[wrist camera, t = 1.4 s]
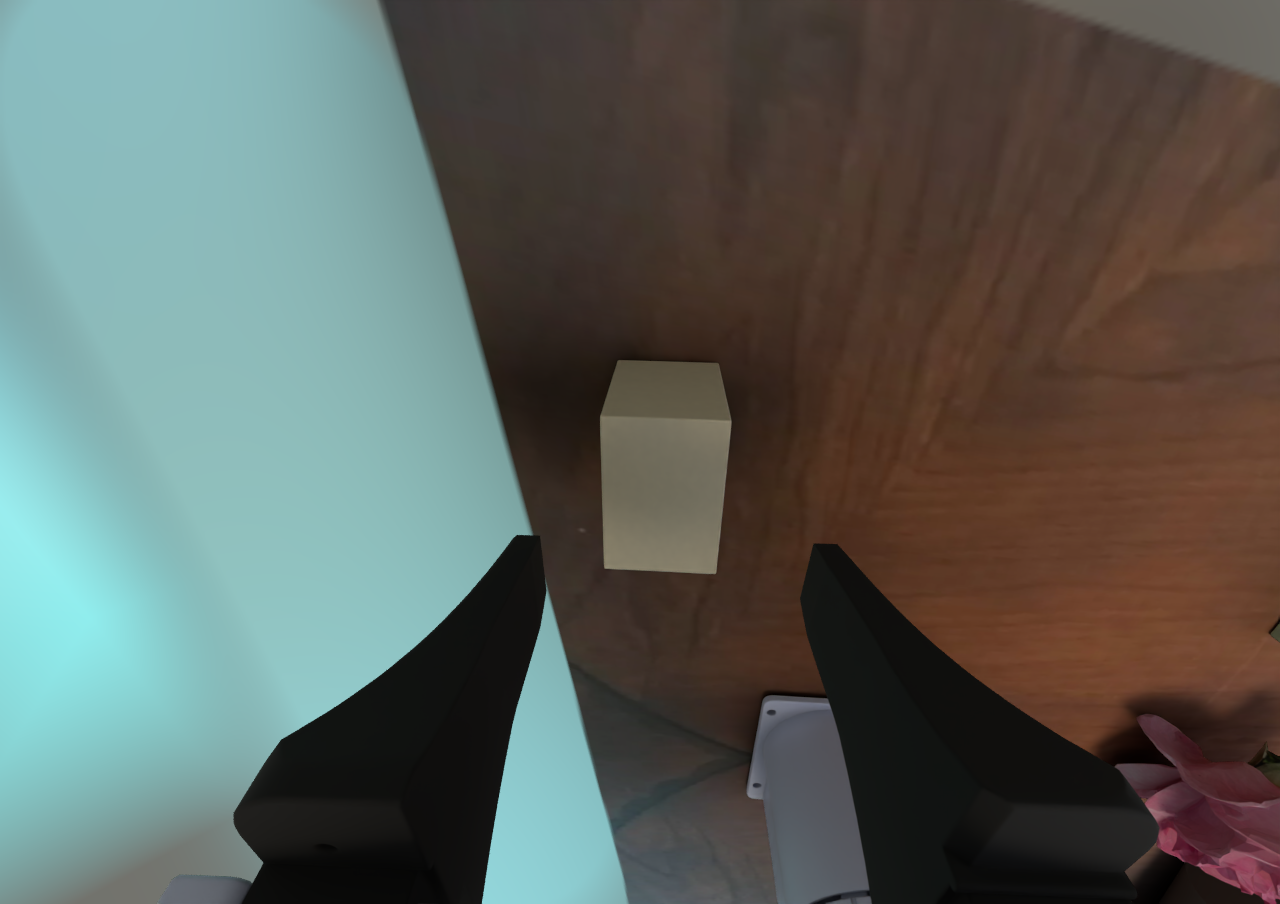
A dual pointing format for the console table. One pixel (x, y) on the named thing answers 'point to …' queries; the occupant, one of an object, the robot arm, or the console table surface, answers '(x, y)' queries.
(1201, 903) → the coffee cup
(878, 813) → the robot arm
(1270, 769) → the flower
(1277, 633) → the stand
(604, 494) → the ivory block
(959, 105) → the console table surface
